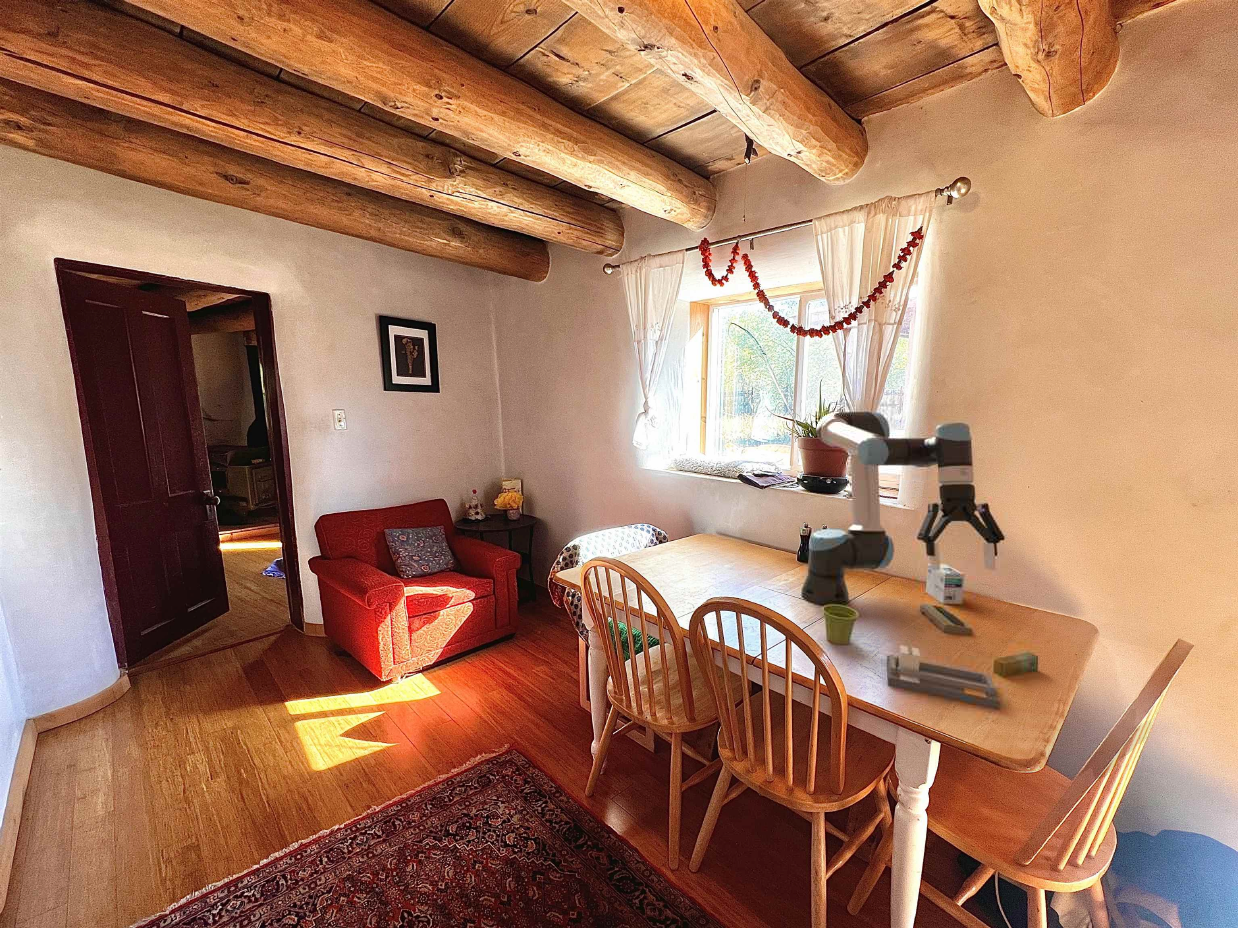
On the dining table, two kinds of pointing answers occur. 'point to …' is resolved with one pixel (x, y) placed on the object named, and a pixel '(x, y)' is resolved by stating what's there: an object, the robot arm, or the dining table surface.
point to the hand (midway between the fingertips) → (962, 569)
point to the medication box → (1016, 664)
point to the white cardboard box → (909, 658)
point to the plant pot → (839, 623)
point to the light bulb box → (945, 584)
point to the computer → (945, 619)
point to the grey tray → (944, 682)
